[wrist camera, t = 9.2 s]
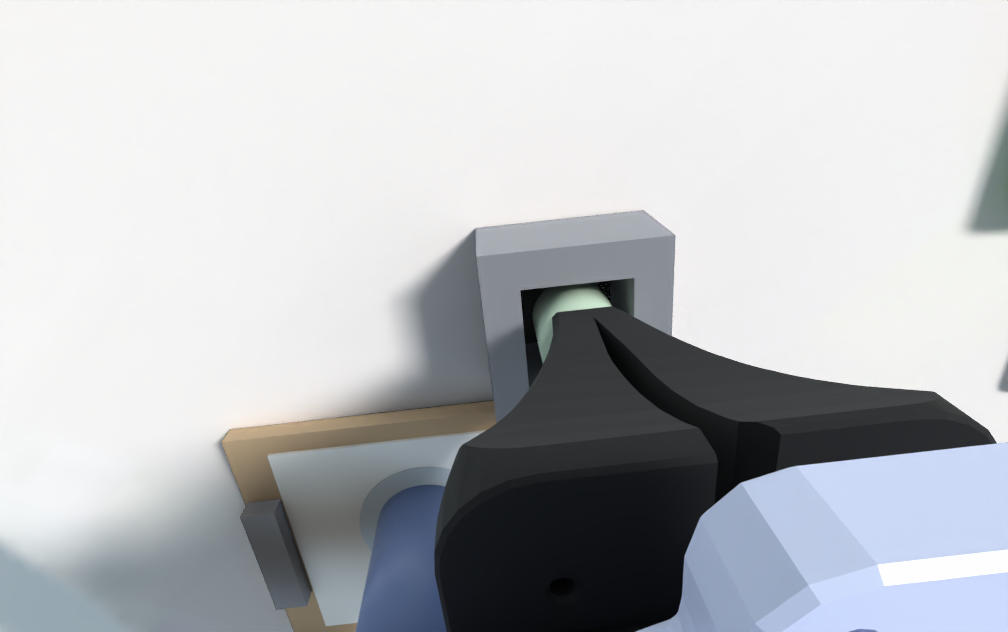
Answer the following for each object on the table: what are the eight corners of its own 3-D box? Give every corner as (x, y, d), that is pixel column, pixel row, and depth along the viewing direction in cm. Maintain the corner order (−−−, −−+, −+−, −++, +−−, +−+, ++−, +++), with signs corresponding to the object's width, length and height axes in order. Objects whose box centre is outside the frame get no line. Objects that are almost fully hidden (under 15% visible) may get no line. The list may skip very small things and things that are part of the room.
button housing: (642, 358, 16) (669, 403, 14) (493, 374, 16) (496, 422, 14) (643, 210, 14) (675, 234, 12) (475, 228, 14) (476, 256, 12)
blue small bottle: (489, 557, 18) (498, 773, 12) (385, 569, 18) (348, 791, 12) (477, 475, 16) (481, 678, 11) (365, 488, 16) (311, 699, 11)
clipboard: (546, 595, 20) (551, 625, 19) (301, 622, 20) (291, 655, 18) (529, 396, 16) (533, 419, 15) (229, 429, 16) (212, 455, 15)
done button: (610, 345, 14) (630, 385, 12) (535, 353, 14) (544, 394, 12) (609, 274, 13) (631, 305, 12) (529, 282, 13) (538, 316, 12)
